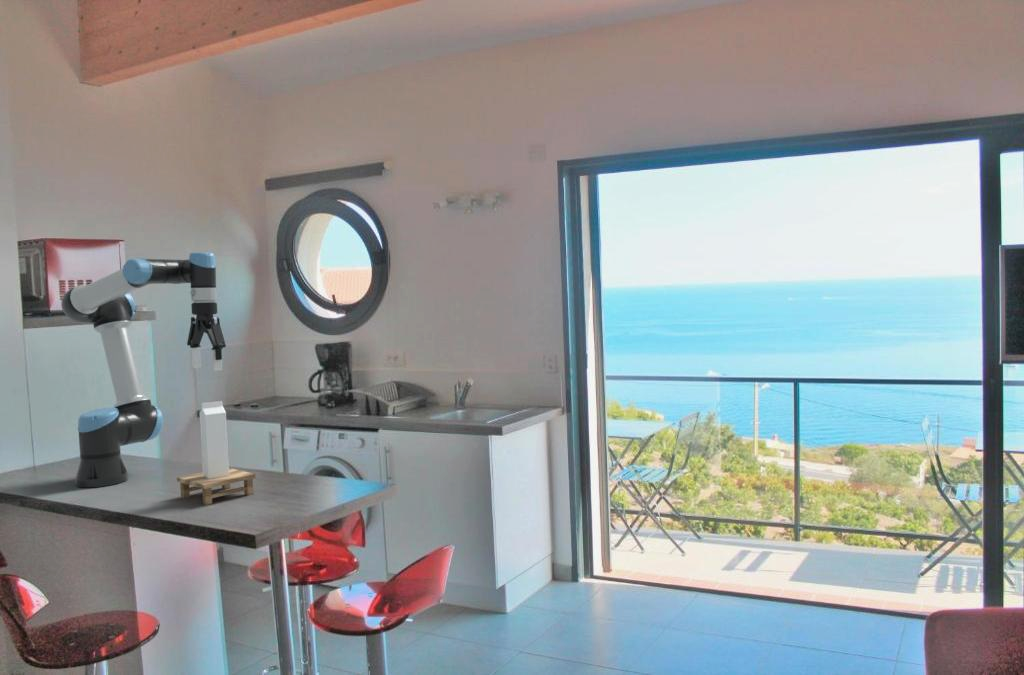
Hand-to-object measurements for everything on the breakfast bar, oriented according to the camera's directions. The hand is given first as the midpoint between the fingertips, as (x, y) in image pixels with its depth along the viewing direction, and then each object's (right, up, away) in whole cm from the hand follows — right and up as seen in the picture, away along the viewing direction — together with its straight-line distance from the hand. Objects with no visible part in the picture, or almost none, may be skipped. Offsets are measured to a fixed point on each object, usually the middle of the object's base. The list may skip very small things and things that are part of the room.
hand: (207, 369), depth 250 cm
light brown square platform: (+9, -37, -15) cm, 41 cm away
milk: (+9, -31, -15) cm, 36 cm away
